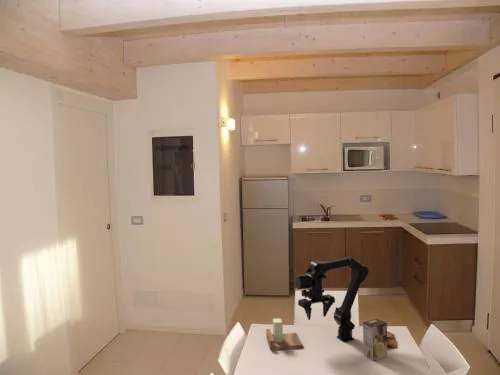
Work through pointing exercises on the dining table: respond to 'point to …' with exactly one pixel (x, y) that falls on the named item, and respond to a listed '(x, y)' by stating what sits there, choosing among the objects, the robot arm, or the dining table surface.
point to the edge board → (284, 341)
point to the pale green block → (277, 330)
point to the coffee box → (375, 339)
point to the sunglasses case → (391, 341)
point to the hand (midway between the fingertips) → (316, 318)
